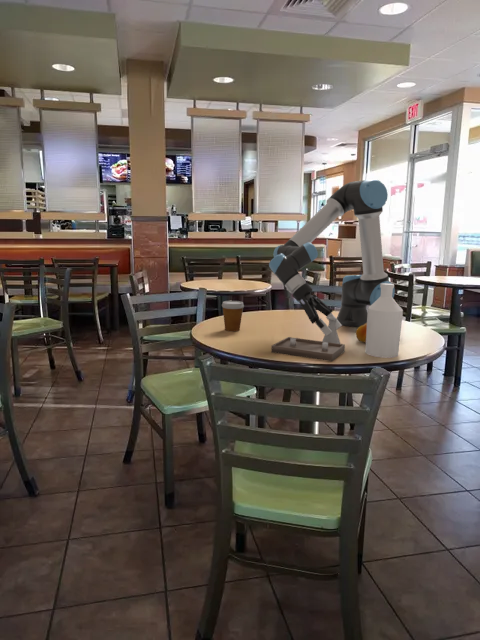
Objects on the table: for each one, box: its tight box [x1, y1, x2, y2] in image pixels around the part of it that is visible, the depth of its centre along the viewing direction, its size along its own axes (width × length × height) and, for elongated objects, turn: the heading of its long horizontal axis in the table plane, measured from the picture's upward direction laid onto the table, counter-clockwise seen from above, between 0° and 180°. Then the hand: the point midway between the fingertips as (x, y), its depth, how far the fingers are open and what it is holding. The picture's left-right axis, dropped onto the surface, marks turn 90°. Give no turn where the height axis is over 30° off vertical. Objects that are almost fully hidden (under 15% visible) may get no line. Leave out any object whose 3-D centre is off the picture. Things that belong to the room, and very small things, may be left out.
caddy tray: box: [270, 336, 346, 362], centre depth 167 cm, size 16×22×4 cm
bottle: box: [364, 283, 404, 359], centre depth 165 cm, size 12×12×25 cm
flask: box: [321, 317, 341, 344], centre depth 179 cm, size 7×7×10 cm
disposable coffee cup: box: [221, 300, 245, 332], centre depth 200 cm, size 10×10×12 cm
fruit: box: [355, 323, 367, 344], centre depth 183 cm, size 8×8×8 cm
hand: (334, 330), depth 178 cm, fingers open, 13 cm apart
